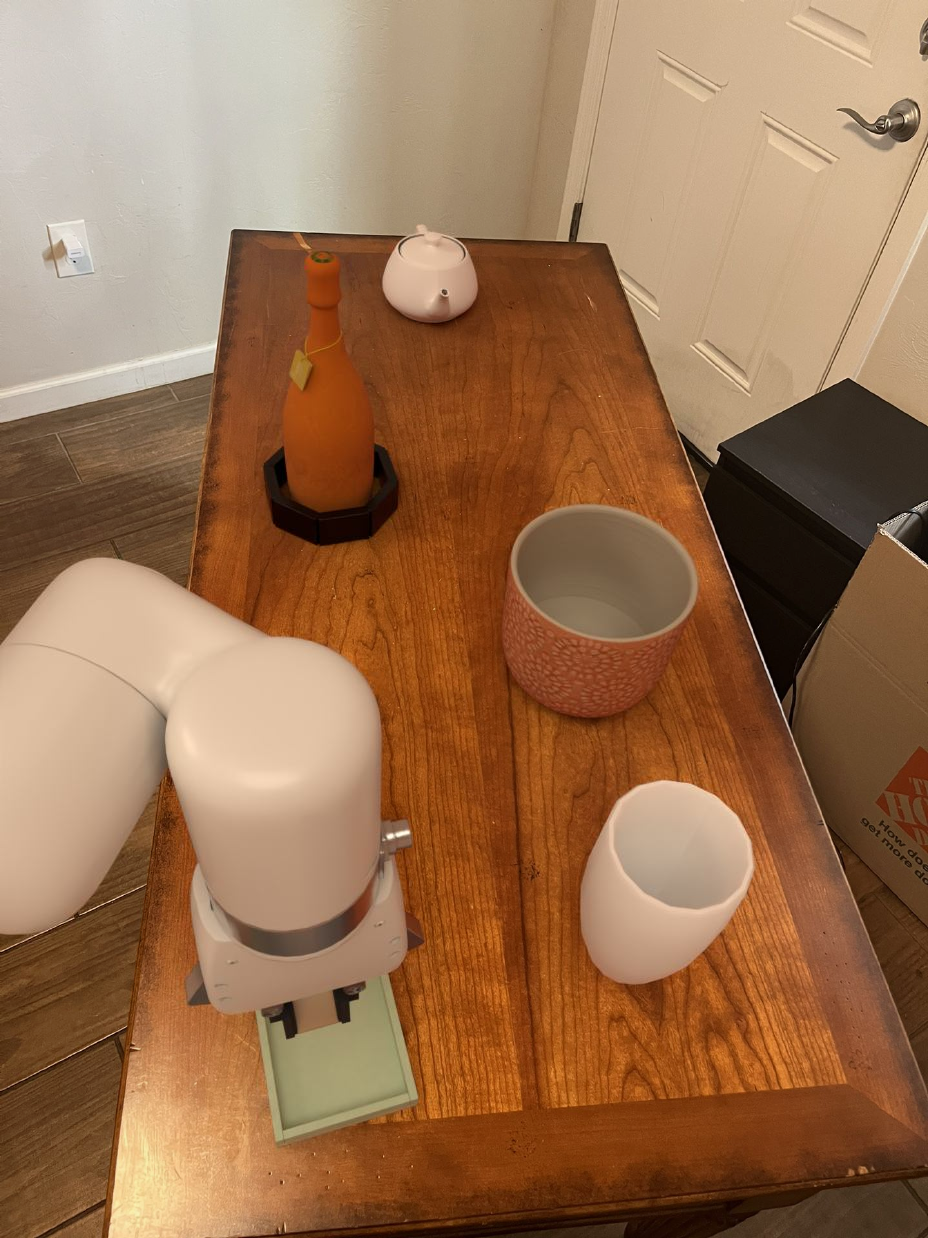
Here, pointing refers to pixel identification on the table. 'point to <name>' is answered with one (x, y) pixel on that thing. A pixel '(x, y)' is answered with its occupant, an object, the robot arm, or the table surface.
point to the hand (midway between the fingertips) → (313, 1004)
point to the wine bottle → (327, 406)
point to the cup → (662, 880)
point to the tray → (338, 1069)
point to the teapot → (430, 277)
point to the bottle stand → (337, 522)
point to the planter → (595, 607)
